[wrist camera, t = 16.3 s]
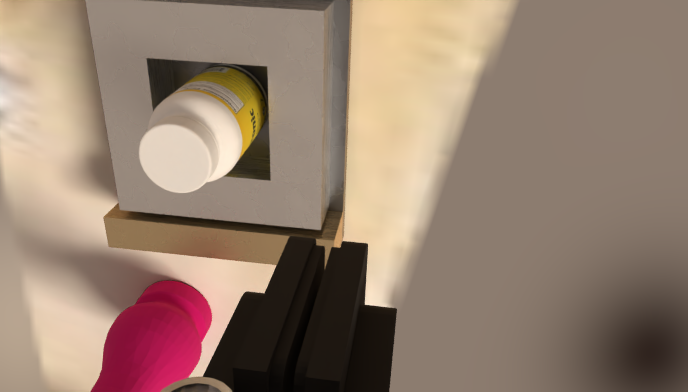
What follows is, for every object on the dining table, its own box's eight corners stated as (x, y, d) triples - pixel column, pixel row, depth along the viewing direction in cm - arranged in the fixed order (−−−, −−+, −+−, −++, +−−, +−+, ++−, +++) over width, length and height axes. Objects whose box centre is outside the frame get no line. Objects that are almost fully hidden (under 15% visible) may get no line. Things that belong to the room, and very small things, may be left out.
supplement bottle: (247, 154, 40) (195, 223, 32) (179, 110, 40) (107, 169, 31) (285, 92, 38) (241, 149, 29) (214, 45, 37) (147, 89, 29)
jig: (99, -66, 36) (53, -60, 32) (354, -54, 34) (342, -47, 30) (141, 215, 45) (109, 249, 41) (343, 235, 44) (333, 273, 39)
